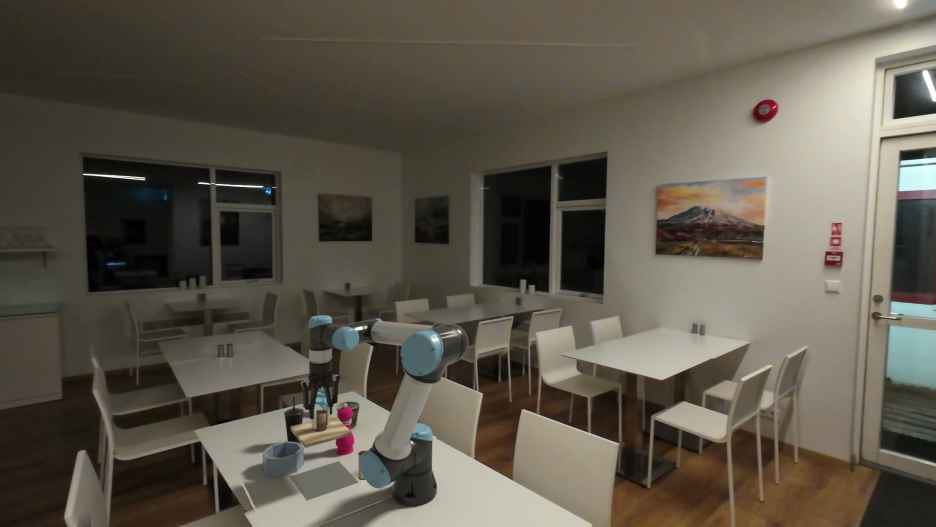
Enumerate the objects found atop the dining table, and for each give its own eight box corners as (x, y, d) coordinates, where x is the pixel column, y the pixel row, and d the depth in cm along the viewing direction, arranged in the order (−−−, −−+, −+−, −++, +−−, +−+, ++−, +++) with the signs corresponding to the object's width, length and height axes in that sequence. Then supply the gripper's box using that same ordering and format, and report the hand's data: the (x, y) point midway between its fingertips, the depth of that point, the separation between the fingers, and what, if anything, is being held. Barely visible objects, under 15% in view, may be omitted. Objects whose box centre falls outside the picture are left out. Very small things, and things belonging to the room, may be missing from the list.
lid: (351, 435, 156) (351, 415, 156) (305, 447, 147) (305, 426, 146) (334, 419, 169) (334, 400, 169) (290, 429, 159) (290, 410, 159)
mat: (358, 483, 157) (358, 482, 157) (306, 502, 146) (306, 500, 146) (338, 462, 171) (338, 461, 171) (290, 477, 160) (290, 476, 160)
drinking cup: (307, 440, 189) (307, 393, 187) (298, 449, 181) (298, 400, 180) (290, 439, 189) (289, 392, 188) (280, 447, 182) (280, 399, 180)
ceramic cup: (335, 424, 205) (334, 402, 204) (357, 420, 209) (357, 399, 208) (339, 436, 193) (339, 413, 192) (363, 432, 197) (363, 410, 196)
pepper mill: (331, 454, 177) (331, 404, 176) (344, 446, 184) (344, 398, 182) (345, 458, 174) (345, 408, 173) (358, 450, 180) (358, 402, 179)
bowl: (307, 470, 165) (307, 451, 165) (269, 482, 157) (269, 462, 157) (296, 456, 176) (295, 438, 175) (260, 466, 168) (259, 448, 167)
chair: (327, 417, 213) (327, 392, 212) (308, 417, 211) (308, 392, 211) (329, 410, 220) (329, 386, 219) (312, 411, 219) (312, 387, 218)
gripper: (340, 354, 164) (340, 416, 166) (292, 361, 154) (292, 427, 155) (348, 359, 158) (348, 423, 160) (298, 367, 148) (299, 436, 150)
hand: (320, 425), depth 158 cm, fingers closed on lid, 4 cm apart
